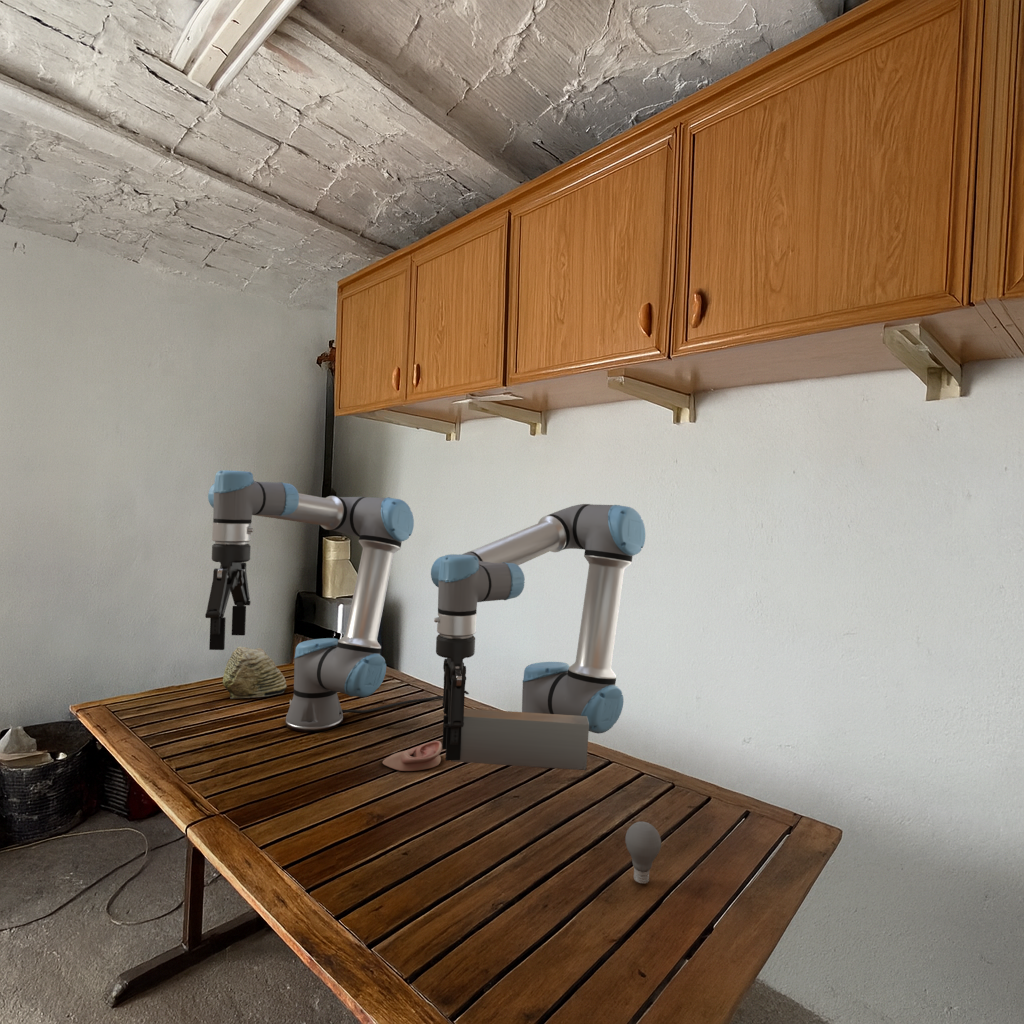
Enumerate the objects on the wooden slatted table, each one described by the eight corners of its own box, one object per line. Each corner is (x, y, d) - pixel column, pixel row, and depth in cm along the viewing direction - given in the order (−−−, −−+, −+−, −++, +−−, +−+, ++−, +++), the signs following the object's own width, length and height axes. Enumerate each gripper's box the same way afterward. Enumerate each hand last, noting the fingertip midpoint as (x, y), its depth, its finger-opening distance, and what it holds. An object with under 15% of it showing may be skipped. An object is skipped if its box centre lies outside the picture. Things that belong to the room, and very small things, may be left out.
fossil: (218, 695, 195) (220, 647, 195) (278, 685, 208) (279, 640, 207) (228, 703, 189) (230, 653, 188) (289, 692, 201) (290, 645, 201)
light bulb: (619, 871, 111) (622, 814, 111) (652, 871, 112) (655, 814, 111) (628, 892, 105) (631, 832, 105) (663, 892, 106) (666, 832, 105)
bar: (584, 760, 125) (586, 716, 125) (586, 770, 121) (589, 724, 120) (453, 752, 126) (455, 707, 126) (450, 761, 121) (453, 715, 121)
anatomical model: (377, 751, 149) (396, 733, 160) (377, 767, 149) (395, 749, 160) (431, 758, 146) (446, 740, 157) (430, 775, 146) (445, 756, 157)
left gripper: (230, 548, 123) (226, 656, 123) (266, 539, 148) (262, 630, 148) (190, 546, 122) (186, 656, 123) (232, 538, 147) (229, 629, 147)
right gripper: (432, 625, 131) (427, 737, 131) (441, 645, 113) (436, 774, 114) (468, 625, 132) (463, 735, 133) (483, 645, 115) (477, 772, 115)
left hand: (228, 642), depth 135 cm, fingers open, 13 cm apart
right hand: (450, 753), depth 123 cm, fingers closed on bar, 5 cm apart
